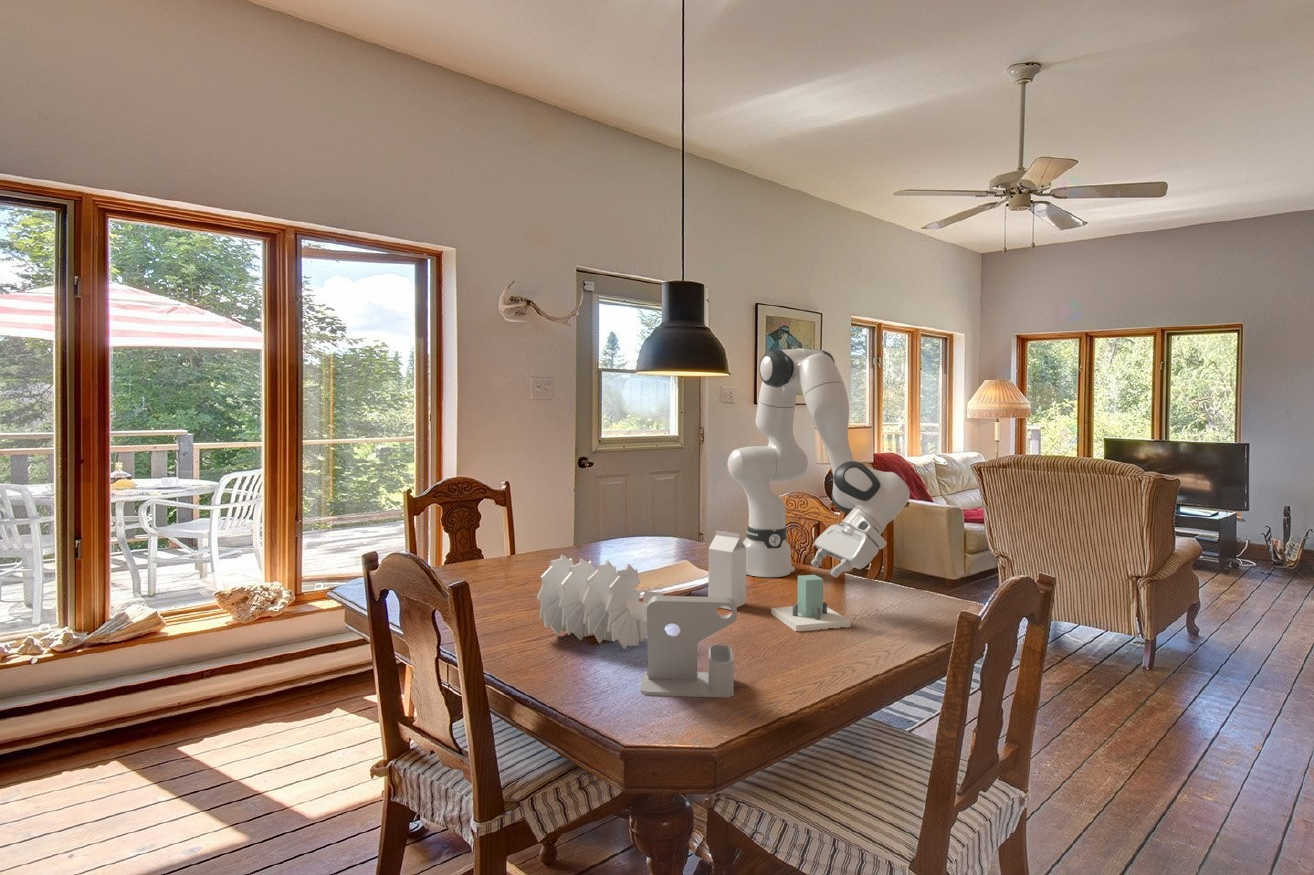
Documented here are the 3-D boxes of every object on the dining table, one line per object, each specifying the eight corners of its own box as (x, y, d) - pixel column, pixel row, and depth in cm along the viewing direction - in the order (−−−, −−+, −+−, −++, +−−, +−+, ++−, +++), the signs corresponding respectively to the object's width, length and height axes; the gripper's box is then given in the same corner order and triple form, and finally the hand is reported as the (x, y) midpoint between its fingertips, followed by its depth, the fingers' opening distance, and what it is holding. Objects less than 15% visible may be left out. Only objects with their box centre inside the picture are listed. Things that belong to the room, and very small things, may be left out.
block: (797, 612, 178) (797, 575, 177) (813, 610, 179) (814, 574, 178) (805, 617, 173) (806, 580, 173) (822, 616, 174) (823, 579, 174)
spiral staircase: (633, 673, 152) (540, 646, 165) (672, 618, 166) (582, 597, 178) (617, 606, 144) (519, 583, 157) (658, 553, 157) (565, 536, 170)
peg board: (771, 614, 181) (771, 598, 181) (822, 610, 185) (822, 594, 184) (795, 631, 168) (796, 614, 167) (850, 627, 171) (850, 610, 171)
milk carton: (731, 610, 184) (732, 536, 183) (707, 605, 188) (708, 533, 187) (745, 604, 189) (746, 532, 188) (722, 599, 194) (723, 529, 192)
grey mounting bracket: (733, 676, 141) (734, 584, 140) (736, 698, 131) (737, 599, 130) (643, 674, 142) (644, 583, 141) (639, 695, 132) (640, 597, 131)
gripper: (831, 513, 188) (795, 552, 186) (874, 527, 168) (835, 571, 166) (846, 529, 189) (811, 568, 187) (890, 546, 169) (852, 590, 167)
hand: (822, 570), depth 176 cm, fingers open, 8 cm apart
